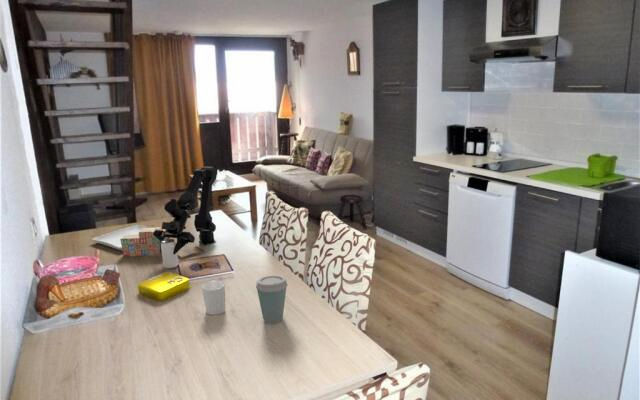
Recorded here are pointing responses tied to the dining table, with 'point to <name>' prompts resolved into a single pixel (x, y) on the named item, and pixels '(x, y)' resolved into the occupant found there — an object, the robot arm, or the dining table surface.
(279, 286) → the disposable coffee cup
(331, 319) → the dining table surface
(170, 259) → the can
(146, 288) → the element tile
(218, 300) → the white cup
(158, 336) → the dining table surface
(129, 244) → the stack of blocks
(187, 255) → the tan flat board
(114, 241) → the square plate
